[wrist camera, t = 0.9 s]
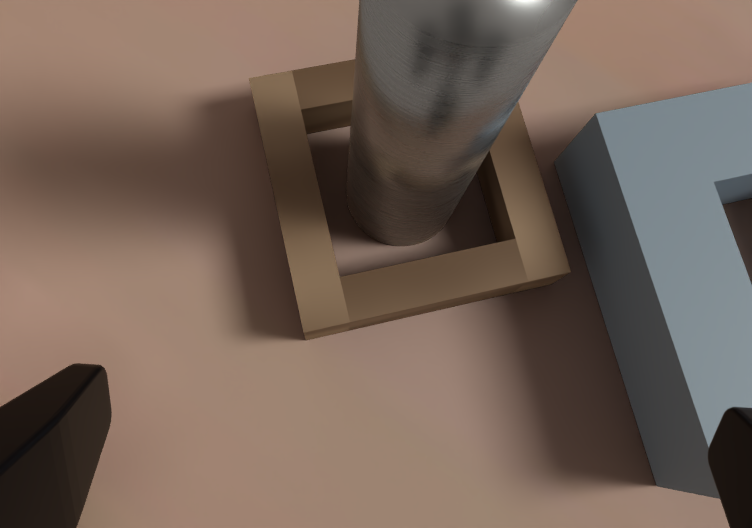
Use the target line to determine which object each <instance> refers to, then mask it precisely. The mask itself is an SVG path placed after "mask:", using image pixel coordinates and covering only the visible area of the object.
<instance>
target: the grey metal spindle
mask: <svg viewBox="0 0 752 528" xmlns="http://www.w3.org/2000/svg"><path fill="white" fill-rule="evenodd" d="M576 2H577V0H359V15H358V29H357V43H356V57H355V72H354V86H353V100H352V115H351V129H350V143H349V158H348V172H347V186H346V198H347V204H348V208H349V211H350V213H351V215H352V217H353V219H354V220H355V222H356V223H357V225H358V226H359V227H360V228H361V229H362V230H363V231H364V232H365V233H366V234H368V235H369V236H370V237H372V238H374V239H376V240H378V241H380V242H382V243H385V244H389V245H394V246H410V245H415V244H419V243H422V242H424V241H426V240H428V239H430V238H432V237H433V236H435V235H436V234H437V233H438V232H439V231H440V230H441V229H442V228H443V227H444V226H445V224H446V223H447V221H448V220H449V218H450V216H451V215H452V213H453V211H454V210H455V208H456V206H457V204H458V203H459V201H460V199H461V198H462V196H463V194H464V192H465V191H466V189H467V187H468V186H469V184H470V182H471V181H472V179H473V177H474V175H475V174H476V172H477V170H478V169H479V167H480V165H481V164H482V162H483V160H484V158H485V157H486V155H487V153H488V152H489V150H490V148H491V147H492V145H493V143H494V141H495V140H496V138H497V136H498V135H499V133H500V131H501V129H502V128H503V126H504V124H505V123H506V121H507V119H508V118H509V116H510V114H511V112H512V111H513V109H514V107H515V106H516V104H517V102H518V101H519V99H520V97H521V95H522V94H523V92H524V90H525V89H526V87H527V85H528V84H529V82H530V80H531V78H532V77H533V75H534V73H535V72H536V70H537V68H538V67H539V65H540V63H541V61H542V60H543V58H544V56H545V55H546V53H547V51H548V49H549V48H550V46H551V44H552V43H553V41H554V39H555V38H556V36H557V34H558V32H559V31H560V29H561V27H562V26H563V24H564V22H565V21H566V19H567V17H568V15H569V14H570V12H571V10H572V9H573V7H574V5H575V4H576Z"/></svg>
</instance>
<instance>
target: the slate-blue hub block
mask: <svg viewBox="0 0 752 528" xmlns="http://www.w3.org/2000/svg"><path fill="white" fill-rule="evenodd" d="M554 164H555V167H556V170H557V173H558V176H559V179H560V182H561V186H562V189H563V192H564V195H565V198H566V201H567V205H568V208H569V211H570V214H571V217H572V220H573V223H574V227H575V230H576V233H577V236H578V239H579V242H580V246H581V249H582V252H583V255H584V258H585V261H586V264H587V268H588V271H589V274H590V277H591V280H592V283H593V287H594V290H595V293H596V296H597V299H598V302H599V305H600V309H601V312H602V315H603V318H604V321H605V324H606V328H607V331H608V334H609V337H610V340H611V343H612V346H613V350H614V353H615V356H616V359H617V362H618V365H619V369H620V372H621V375H622V378H623V381H624V384H625V387H626V391H627V394H628V397H629V400H630V403H631V406H632V410H633V413H634V416H635V419H636V422H637V425H638V428H639V432H640V435H641V438H642V441H643V444H644V447H645V451H646V454H647V457H648V460H649V463H650V466H651V469H652V473H653V476H654V479H655V482H656V485H657V486H658V487H663V488H668V489H673V490H678V491H683V492H688V493H693V494H698V495H704V496H709V497H714V498H719V499H720V497H719V494H718V491H717V488H716V485H715V482H714V479H713V476H712V473H711V470H710V467H709V463H708V449H709V446H710V443H711V441H712V439H713V436H714V434H715V432H716V430H717V427H718V425H719V423H720V421H721V418H722V416H723V414H724V412H725V411H726V410H727V409H729V408H731V407H746V408H752V284H751V281H750V279H749V276H748V273H747V270H746V268H745V265H744V262H743V260H742V257H741V254H740V252H739V249H738V246H737V244H736V241H735V238H734V235H733V233H732V230H731V227H730V225H729V222H728V219H727V217H726V214H725V211H724V209H723V206H722V205H723V204H727V203H732V202H736V201H741V200H745V199H750V198H752V83H748V84H743V85H738V86H733V87H728V88H722V89H717V90H712V91H707V92H702V93H697V94H692V95H687V96H682V97H677V98H672V99H667V100H662V101H657V102H652V103H646V104H641V105H636V106H631V107H626V108H621V109H616V110H611V111H606V112H601V113H596V114H595V115H594V116H593V117H592V118H591V120H590V121H589V122H588V123H587V124H586V125H585V127H584V128H583V129H582V130H581V131H580V132H579V134H578V135H577V136H576V137H575V138H574V139H573V140H572V142H571V143H570V144H569V145H568V146H567V147H566V149H565V150H564V151H563V152H562V153H561V154H560V156H559V157H558V158H557V159H556V160H555V161H554Z"/></svg>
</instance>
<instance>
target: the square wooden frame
mask: <svg viewBox="0 0 752 528" xmlns="http://www.w3.org/2000/svg"><path fill="white" fill-rule="evenodd" d="M354 72H355V59H354V60H349V61H343V62H338V63H332V64H326V65H321V66H315V67H309V68H304V69H298V70H293V71H287V72H281V73H276V74H270V75H265V76H259V77H253V78H249V81H250V86H251V91H252V95H253V100H254V105H255V109H256V114H257V118H258V123H259V128H260V132H261V137H262V142H263V146H264V151H265V156H266V160H267V165H268V170H269V174H270V179H271V184H272V188H273V193H274V198H275V202H276V207H277V211H278V216H279V221H280V225H281V230H282V235H283V239H284V244H285V249H286V253H287V258H288V263H289V267H290V272H291V277H292V281H293V286H294V291H295V295H296V300H297V304H298V309H299V314H300V318H301V323H302V328H303V332H304V336H305V339H306V340H310V339H314V338H318V337H323V336H327V335H331V334H336V333H340V332H345V331H349V330H353V329H358V328H362V327H366V326H371V325H375V324H380V323H384V322H388V321H393V320H397V319H401V318H406V317H410V316H415V315H419V314H423V313H428V312H432V311H436V310H441V309H445V308H449V307H454V306H458V305H463V304H467V303H471V302H476V301H480V300H484V299H489V298H493V297H498V296H502V295H506V294H511V293H515V292H519V291H524V290H528V289H533V288H537V287H541V286H546V285H550V284H552V283H554V282H556V281H557V280H559V279H560V278H562V277H564V276H565V275H567V274H569V273H570V272H571V270H570V267H569V264H568V260H567V257H566V254H565V251H564V247H563V244H562V241H561V238H560V235H559V231H558V228H557V225H556V222H555V219H554V215H553V212H552V209H551V206H550V202H549V199H548V196H547V193H546V190H545V186H544V183H543V180H542V177H541V174H540V170H539V167H538V164H537V161H536V157H535V154H534V151H533V148H532V145H531V141H530V138H529V135H528V132H527V128H526V125H525V122H524V119H523V116H522V112H521V109H520V106H519V103H518V102H517V104H516V106H515V107H514V109H513V111H512V112H511V114H510V116H509V118H508V119H507V121H506V123H505V124H504V126H503V128H502V129H501V131H500V133H499V135H498V136H497V138H496V140H495V141H494V143H493V145H492V147H491V148H490V150H489V152H488V153H487V155H486V157H485V158H484V160H483V162H482V164H481V165H480V167H479V169H478V170H477V174H478V178H479V181H480V184H481V188H482V191H483V195H484V198H485V202H486V205H487V209H488V212H489V216H490V219H491V223H492V226H493V229H494V233H495V236H496V240H497V243H493V244H489V245H484V246H480V247H475V248H470V249H466V250H461V251H457V252H452V253H447V254H443V255H438V256H434V257H429V258H425V259H420V260H415V261H411V262H406V263H402V264H397V265H393V266H388V267H383V268H379V269H374V270H370V271H365V272H360V273H356V274H351V275H347V276H342V277H340V276H339V272H338V268H337V263H336V259H335V255H334V250H333V246H332V242H331V238H330V233H329V229H328V225H327V220H326V216H325V212H324V207H323V203H322V199H321V194H320V190H319V186H318V181H317V177H316V173H315V168H314V164H313V160H312V155H311V151H310V147H309V142H308V138H307V134H309V133H314V132H319V131H324V130H330V129H335V128H340V127H345V126H351V115H352V100H353V86H354Z"/></svg>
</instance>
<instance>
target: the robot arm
mask: <svg viewBox="0 0 752 528" xmlns="http://www.w3.org/2000/svg"><path fill="white" fill-rule="evenodd" d="M111 413H112V412H111V403H110V395H109V387H108V379H107V373H106V370H105V368H104V367H102V366H101V365H94V364H80V363H77V364H72V365H70V366H68V367H66V368H65V369H63V370H61V371H60V372H58V373H56V374H55V375H53V376H51V377H50V378H48V379H46V380H45V381H43V382H41V383H40V384H38V385H36V386H35V387H33V388H31V389H30V390H28V391H26V392H25V393H23V394H21V395H19V396H18V397H16V398H14V399H13V400H11V401H9V402H8V403H6V404H4V405H3V406H1V407H0V528H76V527H77V525H78V522H79V519H80V516H81V513H82V511H83V508H84V505H85V502H86V498H87V495H88V492H89V489H90V486H91V483H92V480H93V477H94V474H95V471H96V468H97V465H98V462H99V458H100V455H101V452H102V449H103V446H104V443H105V440H106V437H107V434H108V431H109V427H110V423H111ZM708 463H709V467H710V470H711V473H712V476H713V479H714V482H715V485H716V488H717V491H718V494H719V497H720V500H721V503H722V506H723V508H724V511H725V514H726V517H727V520H728V523H729V526H730V528H752V408H746V407H731V408H729V409H727V410H726V411H725V412H724V414H723V416H722V418H721V421H720V423H719V425H718V427H717V430H716V432H715V434H714V436H713V439H712V441H711V443H710V446H709V449H708Z"/></svg>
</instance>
